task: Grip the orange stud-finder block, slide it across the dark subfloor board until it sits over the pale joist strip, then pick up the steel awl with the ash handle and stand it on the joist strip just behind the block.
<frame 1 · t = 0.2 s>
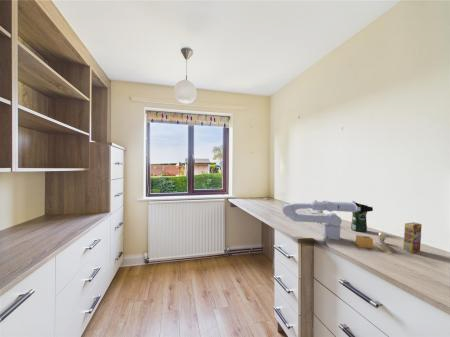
hand: (369, 208, 127), 21 cm above the table, tool horizontal, fingers open, 7 cm apart
candy box: (411, 251, 117), on the table
subfloor: (374, 249, 118), on the table
hammer: (323, 227, 162), on the table
awl: (381, 244, 125), on the table
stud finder: (364, 246, 119), point 1 cm above the table, touching subfloor
coffee jar: (358, 230, 155), on the table
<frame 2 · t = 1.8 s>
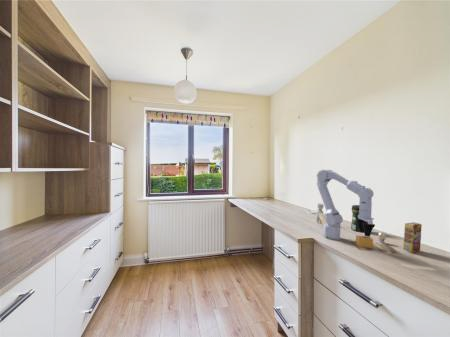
hand: (364, 234, 119), 8 cm above the table, tool pointing down, fingers open, 7 cm apart
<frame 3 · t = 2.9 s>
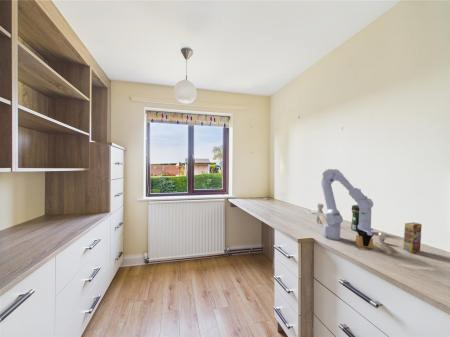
hand: (364, 244, 119), 2 cm above the table, tool pointing down, fingers closed on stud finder, 4 cm apart
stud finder: (364, 246, 119), point 1 cm above the table, touching gripper, subfloor
everything else where it was.
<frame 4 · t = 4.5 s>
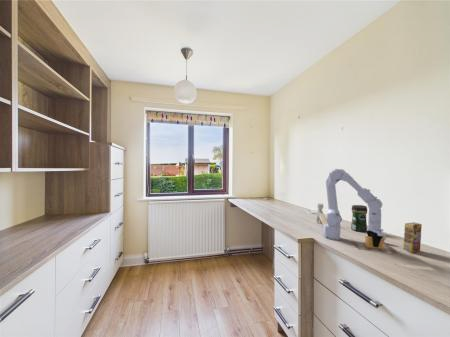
hand: (373, 245, 118), 2 cm above the table, tool pointing down, fingers closed on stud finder, 4 cm apart
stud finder: (373, 246, 118), point 1 cm above the table, touching gripper
when the fingers open (2 cm above the table, at t = 5.9 s): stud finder stays where it is, resting on subfloor.
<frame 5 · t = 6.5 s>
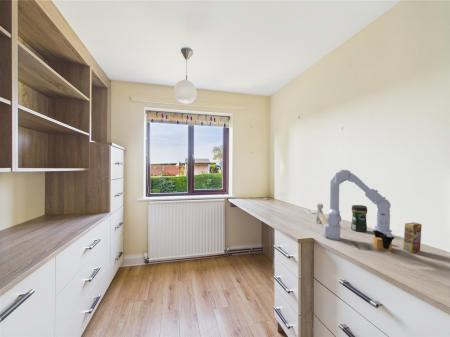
hand: (382, 246, 117), 2 cm above the table, tool pointing down, fingers open, 7 cm apart
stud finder: (382, 247, 117), point 1 cm above the table, touching subfloor
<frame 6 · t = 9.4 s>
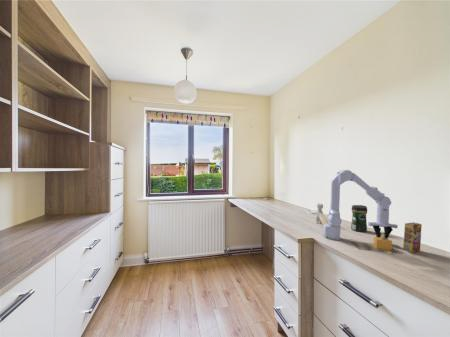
hand: (381, 239, 125), 3 cm above the table, tool pointing down, fingers closed on awl, 3 cm apart
awl: (381, 244, 125), on the table, touching gripper
when the fingers open (6 cm above the table, at t = 12.4 s): awl drops 1 cm, resting on subfloor.
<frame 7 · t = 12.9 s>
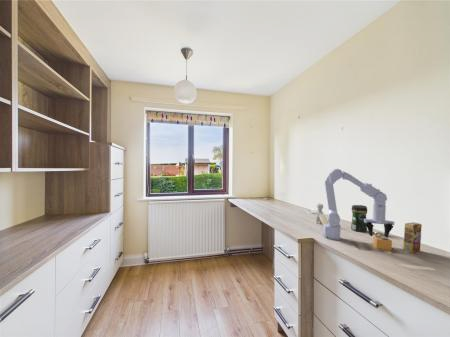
hand: (378, 236, 121), 6 cm above the table, tool pointing down, fingers open, 7 cm apart
awl: (378, 244, 121), point 1 cm above the table, touching subfloor
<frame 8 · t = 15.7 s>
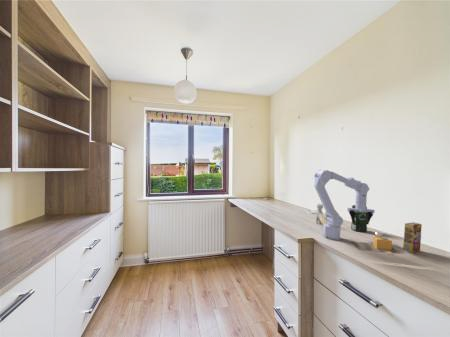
hand: (360, 223, 133), 10 cm above the table, tool pointing down, fingers open, 7 cm apart
at the end: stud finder 0.1 cm from the target spot on the subfloor, point 1.2 cm above the subfloor's base; awl 0.2 cm from the target spot on the subfloor, point 1.2 cm above the subfloor's base; awl tilted 1° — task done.
